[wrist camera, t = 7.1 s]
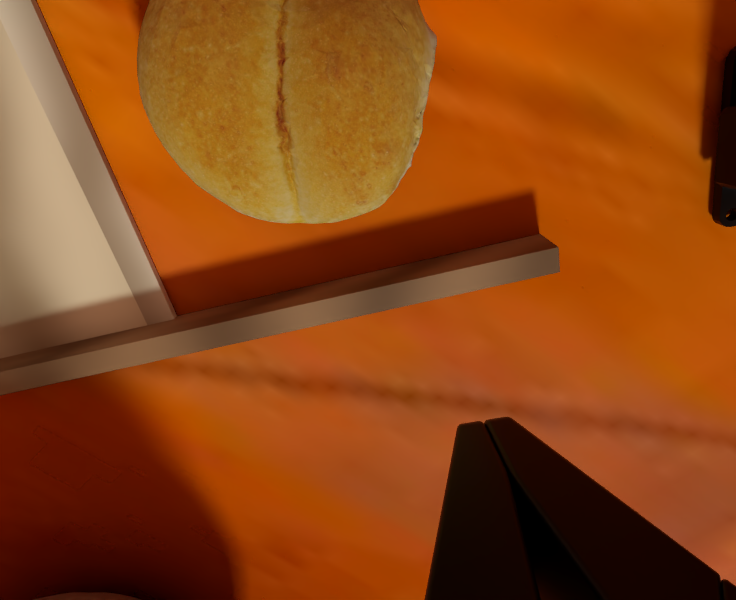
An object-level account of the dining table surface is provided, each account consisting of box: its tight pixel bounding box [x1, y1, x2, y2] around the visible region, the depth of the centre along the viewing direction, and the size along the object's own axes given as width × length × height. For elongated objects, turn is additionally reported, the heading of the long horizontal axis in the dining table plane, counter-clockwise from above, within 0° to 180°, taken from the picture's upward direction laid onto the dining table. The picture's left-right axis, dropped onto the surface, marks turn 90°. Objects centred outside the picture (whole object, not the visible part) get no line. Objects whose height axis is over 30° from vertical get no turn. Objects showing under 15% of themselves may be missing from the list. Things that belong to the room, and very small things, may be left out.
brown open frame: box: [0, 0, 560, 395], centre depth 15 cm, size 25×14×3 cm, turn 103°
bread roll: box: [137, 0, 437, 224], centre depth 14 cm, size 8×9×4 cm
